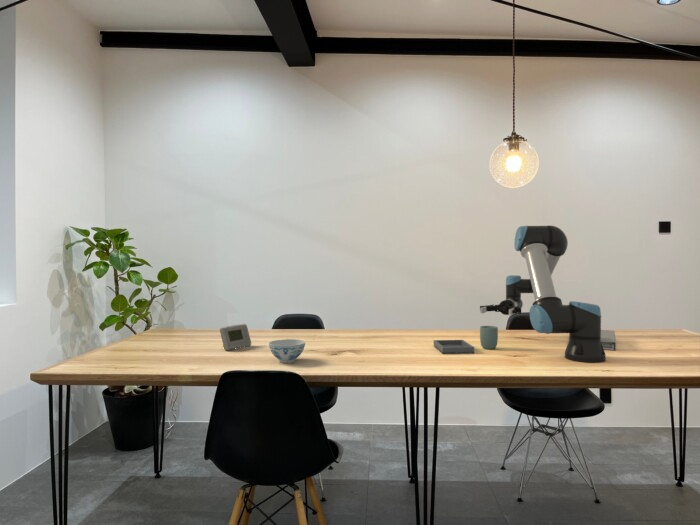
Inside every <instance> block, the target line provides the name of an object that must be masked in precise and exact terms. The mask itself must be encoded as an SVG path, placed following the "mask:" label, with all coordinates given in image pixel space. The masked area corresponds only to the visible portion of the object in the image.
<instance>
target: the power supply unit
mask: <svg viewBox="0 0 700 525" xmlns="http://www.w3.org/2000/svg"><path fill="white" fill-rule="evenodd" d="M601 343H602V346H603V349H604V351H615V352H617V338H616V333H615V330H611V329H610V330H609V329H601Z"/></svg>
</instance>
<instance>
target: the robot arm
mask: <svg viewBox="0 0 700 525" xmlns="http://www.w3.org/2000/svg"><path fill="white" fill-rule="evenodd" d="M568 244H569V243H568V237H567V236H566V233H565V232H564V231H563V230H562V229H561V228H560V227H557V226H555V225H522V226H519V227H518V228H517V229H516V231H515V235H514V246H513V247H514V250H515V251H516V252H520V255H521V257H522V258H524V259H525V261H526V262H525V263H526V266H527V269H528V275H529V278H522V277H521V275H507V276H506V278H505V300H502V301H500V302H499V304H489V305H488V304H487V305H486V304H485V305H480V306H479V312H480V314H482V315H483V314H485V313H487V312H495V313H501V314H503V315H505V316H509V317H510V316H513V315H517V314H518V315H521V314H522V308H523V305H524V303H523V301H522V298H521V297H522V294H533V296H534V301H533V302H532V305H531V307H530V308H529V320H530V324H531V327H532V329H533V330H534V331H536V332H537V333H539V334H547V335H549V334H550V335H551V334H568V335H569V337H568V338H569V339H568V342H567V344H566V347H565V350H564V358H565V359H567V360H570V361H573V362H574V361H575V362H582V363H602V362H605V361H607V360H606V358H607V356H606V352H605V350H604V349H603V346H602V343H601V330H602V323H601V322H602V312H601V307H600V306H599V305H598V304H594V303H587V302H582V301H581V302H580V301H571V300H570V301H569V303H568V304H563V302H562V299H561V298H560V297H558V296H557V295H556V290H555V286H554V283H553V279H552V275H553V273H554V271H555V268H556V267H557V264H558V262H559V261H560V259H561V257H562V256H564V255H565V253H566V252H567V250H568Z"/></svg>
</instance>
